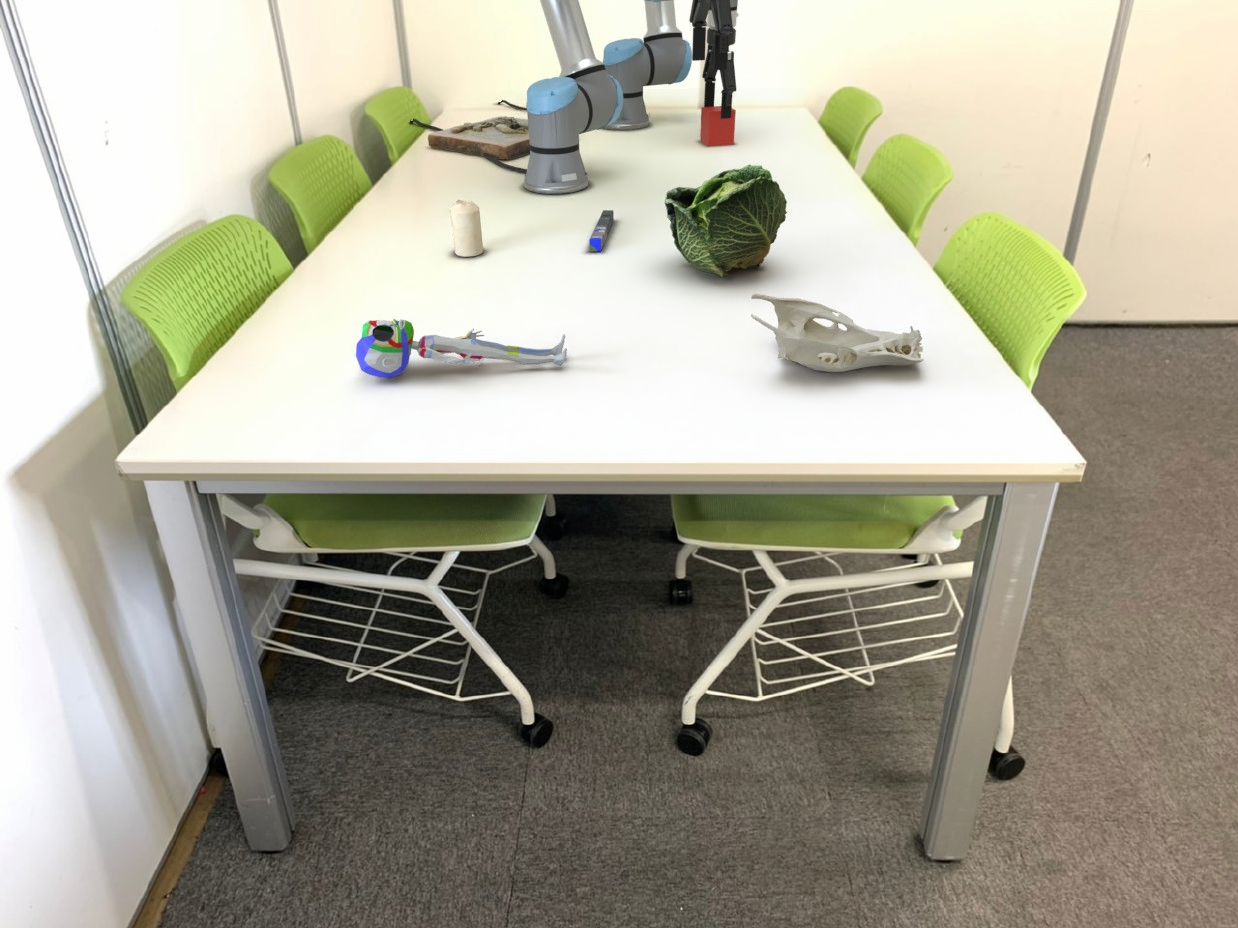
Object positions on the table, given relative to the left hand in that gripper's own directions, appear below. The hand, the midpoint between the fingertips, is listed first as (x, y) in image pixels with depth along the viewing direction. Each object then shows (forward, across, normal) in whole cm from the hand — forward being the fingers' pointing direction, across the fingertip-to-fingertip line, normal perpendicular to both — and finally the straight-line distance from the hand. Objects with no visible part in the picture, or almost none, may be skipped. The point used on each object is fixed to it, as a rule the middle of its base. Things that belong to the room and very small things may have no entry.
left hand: (708, 65), depth 192 cm
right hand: (+20, +49, -20) cm, 57 cm away
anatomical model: (+28, -88, +11) cm, 93 cm away
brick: (+28, +48, -21) cm, 60 cm away
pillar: (+28, -22, +29) cm, 46 cm away
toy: (+28, -75, +63) cm, 102 cm away
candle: (+28, -24, +57) cm, 68 cm away
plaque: (+28, +66, +37) cm, 81 cm away
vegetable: (+28, -47, +12) cm, 56 cm away
